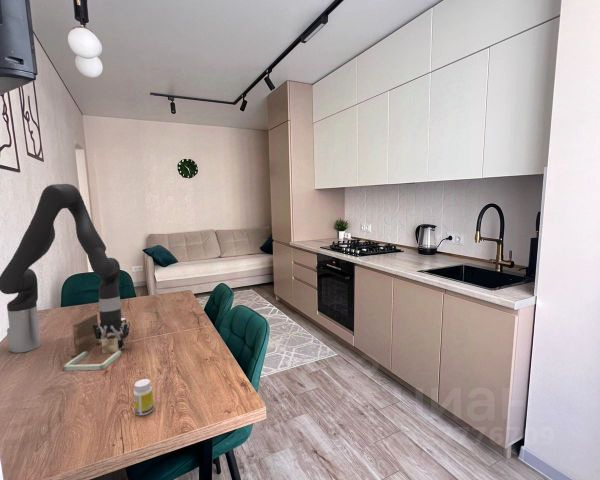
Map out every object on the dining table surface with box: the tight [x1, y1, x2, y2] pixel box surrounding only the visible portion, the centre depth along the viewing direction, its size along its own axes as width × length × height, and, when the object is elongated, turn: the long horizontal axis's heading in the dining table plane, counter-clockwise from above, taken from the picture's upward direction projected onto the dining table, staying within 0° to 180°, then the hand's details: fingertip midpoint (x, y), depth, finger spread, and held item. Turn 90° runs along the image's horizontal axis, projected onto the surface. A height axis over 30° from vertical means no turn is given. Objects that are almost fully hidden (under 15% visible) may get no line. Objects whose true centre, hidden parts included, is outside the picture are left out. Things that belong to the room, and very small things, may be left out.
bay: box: [61, 350, 122, 372], centre depth 122 cm, size 14×12×2 cm
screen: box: [70, 313, 102, 359], centre depth 132 cm, size 5×13×13 cm, turn 1°
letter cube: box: [101, 334, 125, 354], centre depth 132 cm, size 6×6×6 cm
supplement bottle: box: [133, 378, 154, 416], centre depth 92 cm, size 5×5×8 cm
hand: (113, 348), depth 132 cm, fingers closed on letter cube, 5 cm apart
